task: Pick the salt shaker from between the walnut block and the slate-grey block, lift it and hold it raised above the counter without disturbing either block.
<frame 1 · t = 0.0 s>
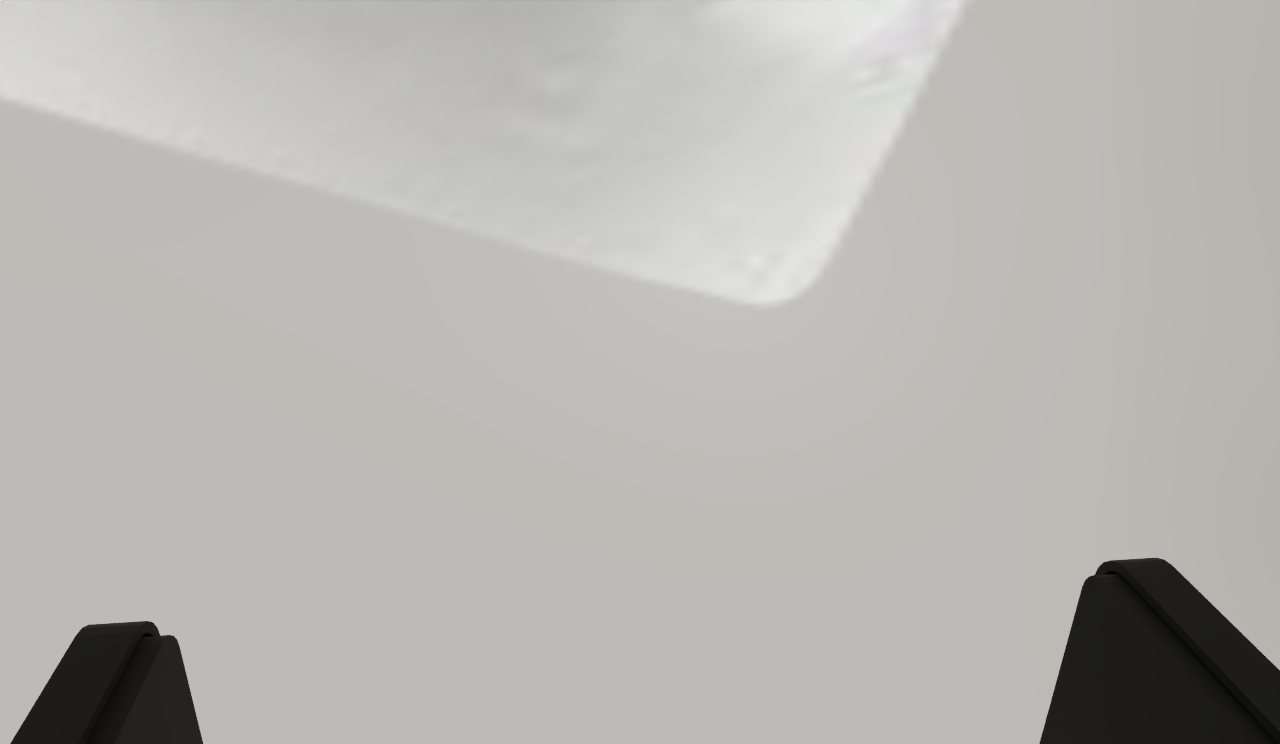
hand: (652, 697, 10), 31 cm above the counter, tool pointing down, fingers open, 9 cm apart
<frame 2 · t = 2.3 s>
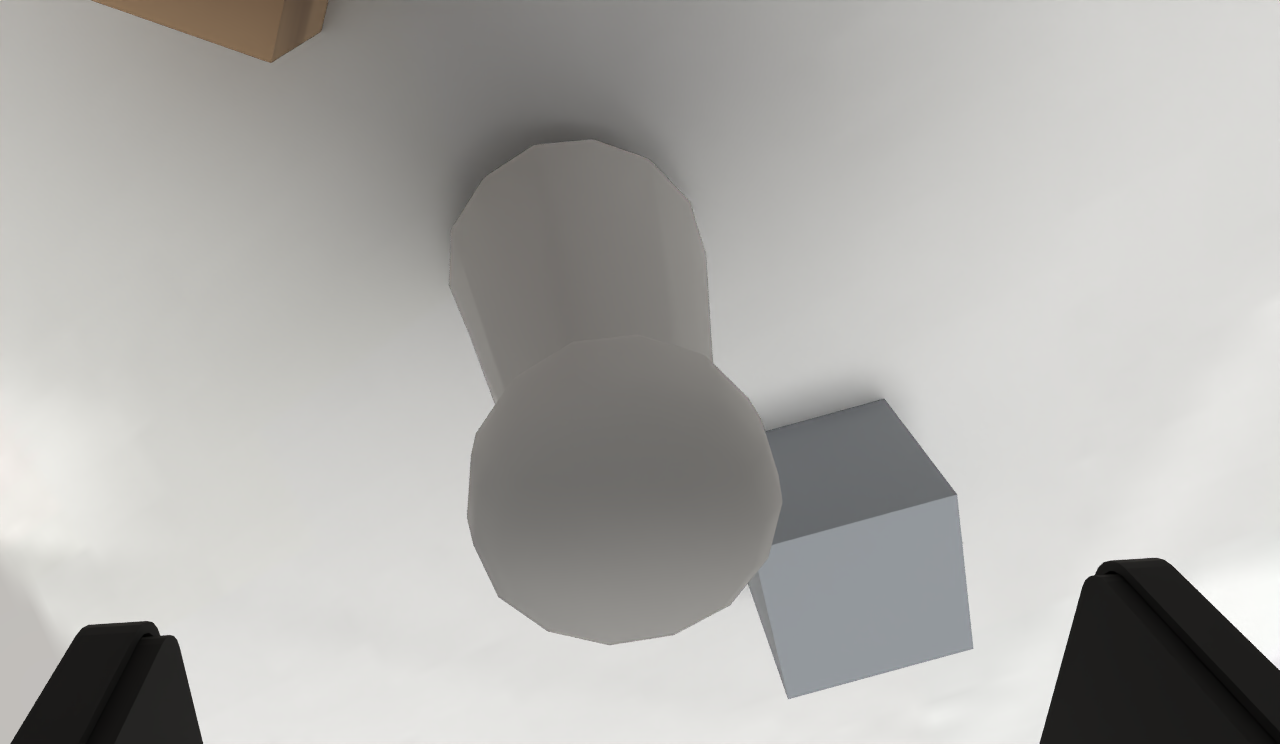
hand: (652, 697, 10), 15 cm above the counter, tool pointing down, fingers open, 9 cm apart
slate-grey block: (812, 491, 28), on the counter
salt shaker: (572, 234, 24), on the counter
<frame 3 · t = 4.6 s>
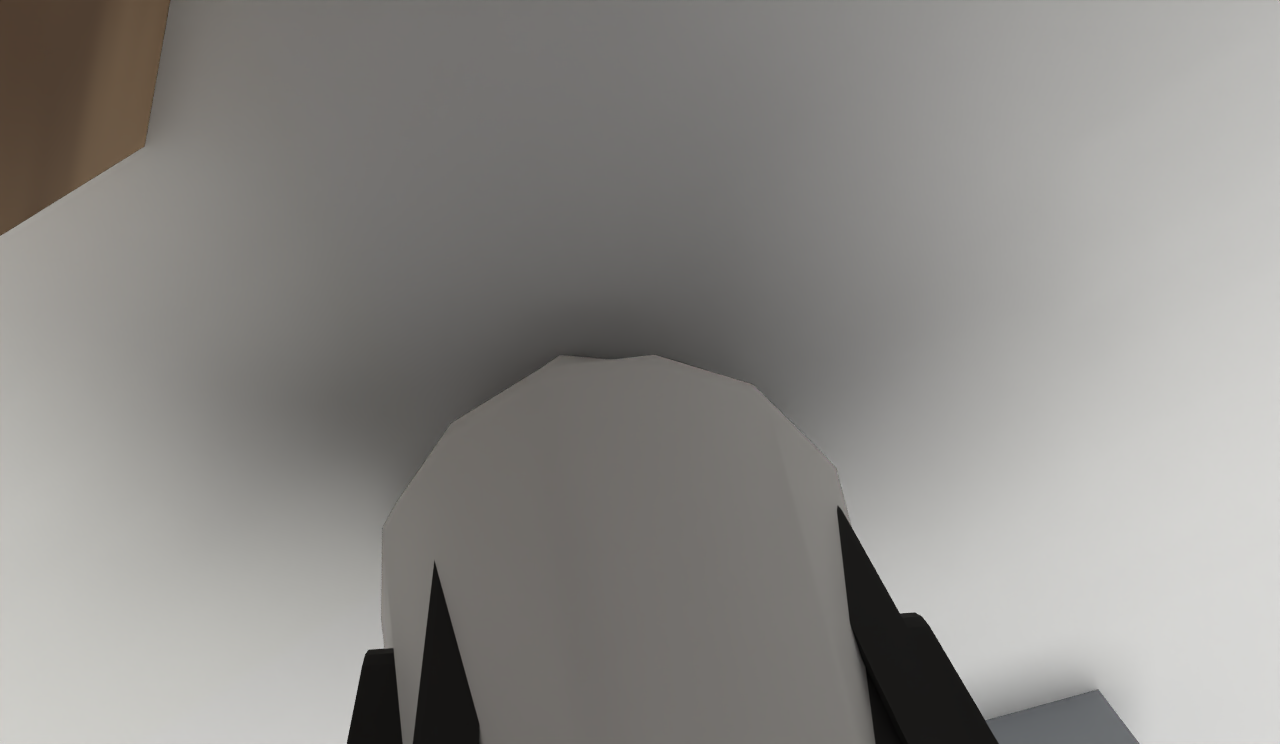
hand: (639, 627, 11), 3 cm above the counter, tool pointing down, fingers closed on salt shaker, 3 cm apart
salt shaker: (604, 471, 14), on the counter, touching gripper
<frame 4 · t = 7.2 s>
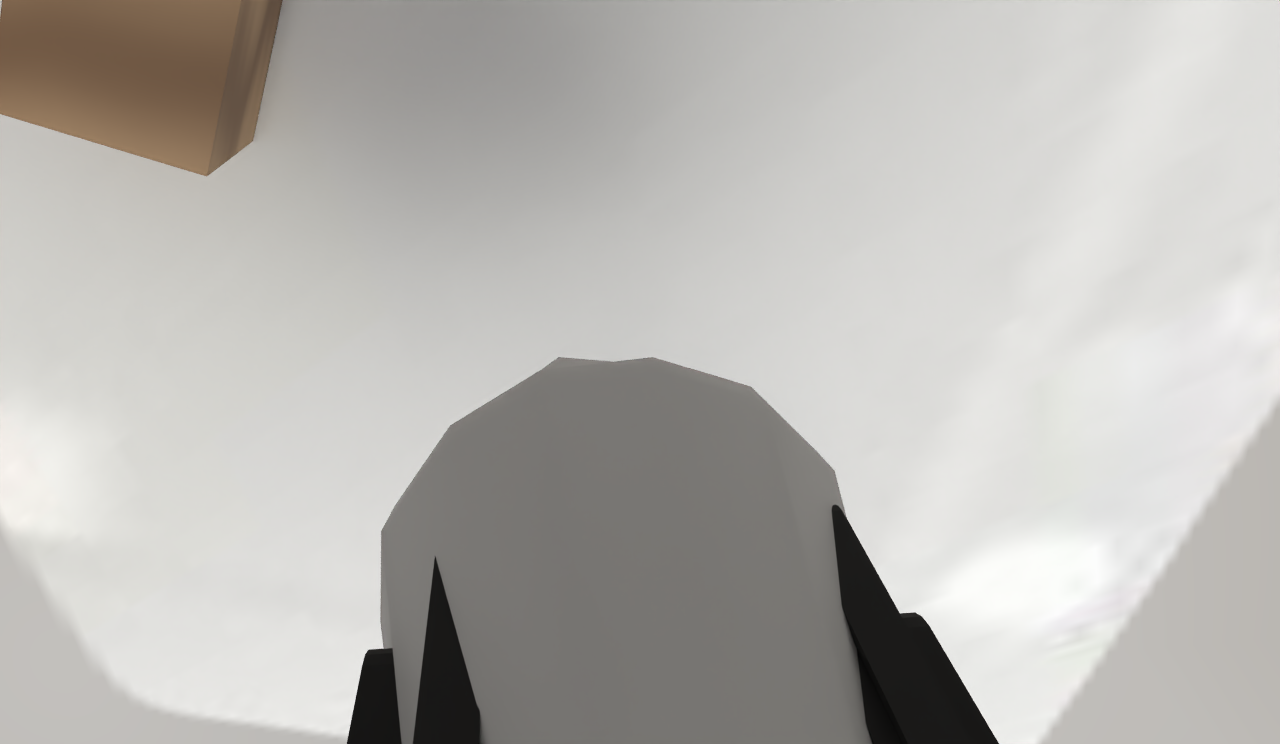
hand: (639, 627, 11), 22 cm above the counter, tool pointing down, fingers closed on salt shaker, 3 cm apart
salt shaker: (603, 472, 14), point 18 cm above the counter, touching gripper
walnut block: (181, 28, 27), on the counter
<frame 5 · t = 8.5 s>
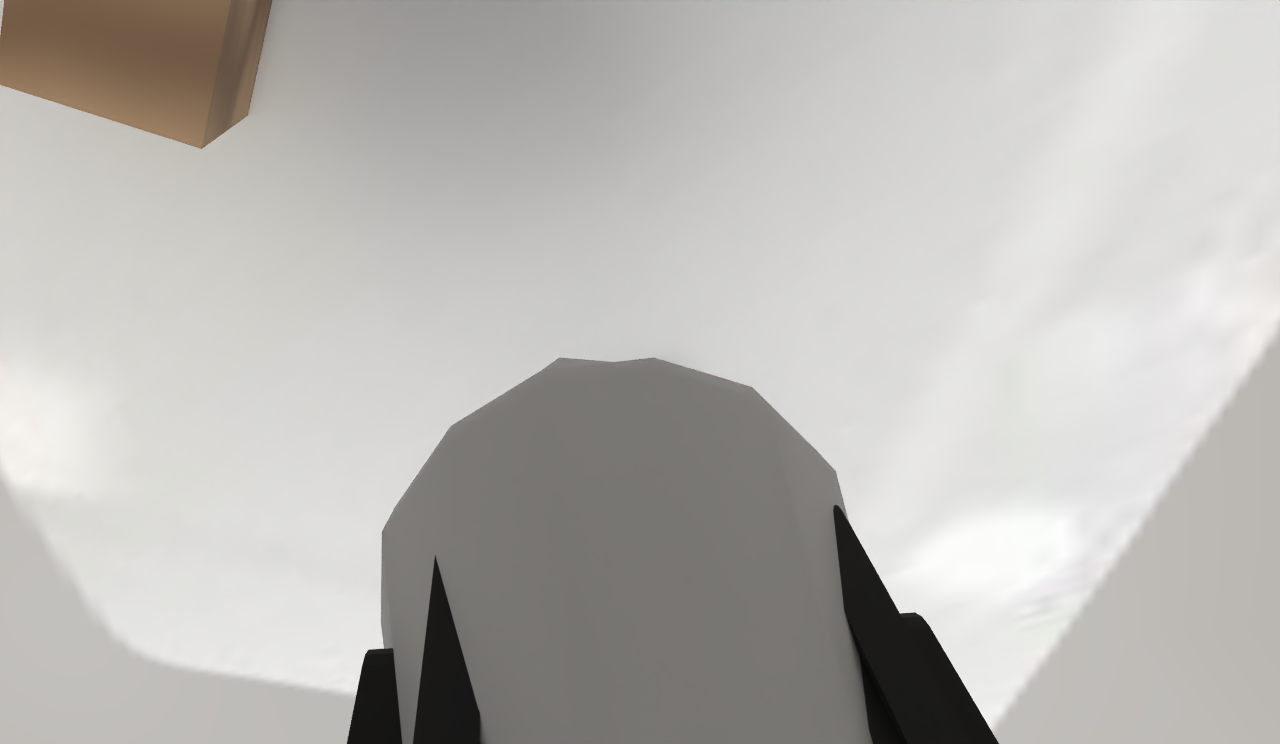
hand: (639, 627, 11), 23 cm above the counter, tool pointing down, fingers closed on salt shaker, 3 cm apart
salt shaker: (604, 473, 14), point 20 cm above the counter, touching gripper
walnut block: (178, 5, 28), on the counter
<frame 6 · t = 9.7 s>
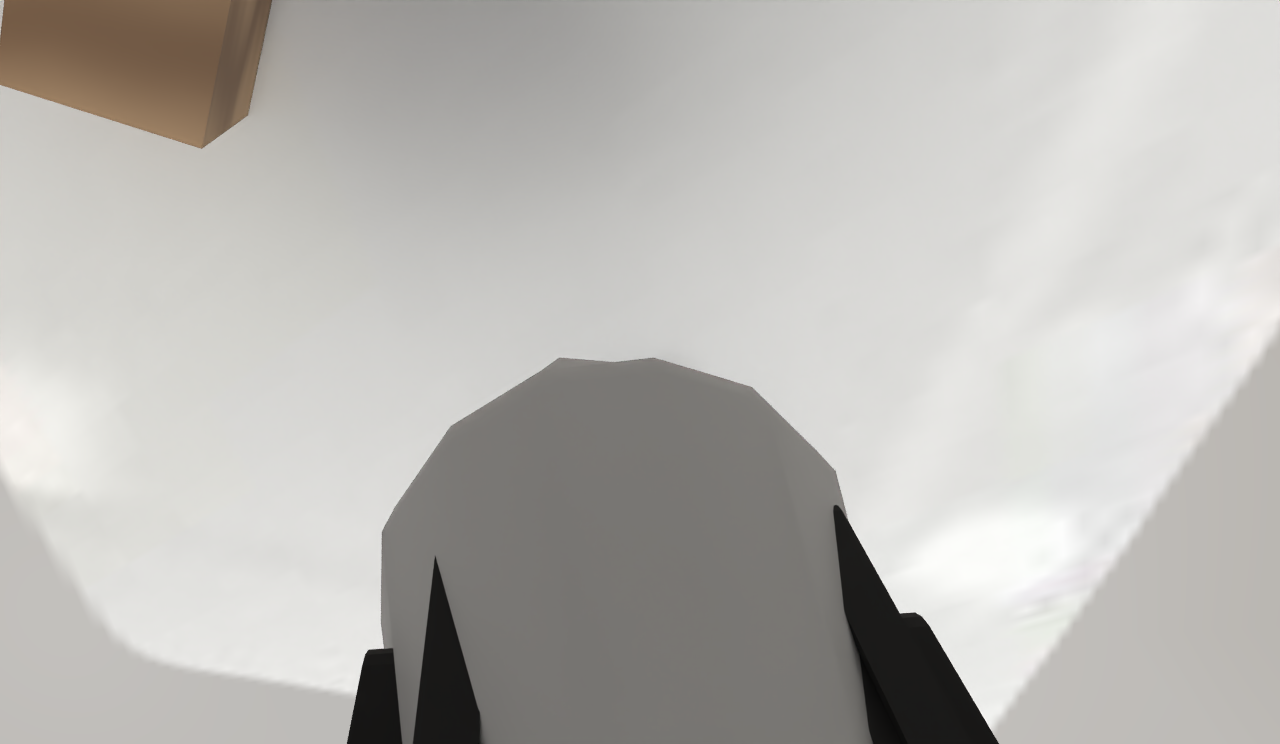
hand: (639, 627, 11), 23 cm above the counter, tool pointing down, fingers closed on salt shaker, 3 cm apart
salt shaker: (604, 473, 14), point 20 cm above the counter, touching gripper
walnut block: (178, 5, 28), on the counter
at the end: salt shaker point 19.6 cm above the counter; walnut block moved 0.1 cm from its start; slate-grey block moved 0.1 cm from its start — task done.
